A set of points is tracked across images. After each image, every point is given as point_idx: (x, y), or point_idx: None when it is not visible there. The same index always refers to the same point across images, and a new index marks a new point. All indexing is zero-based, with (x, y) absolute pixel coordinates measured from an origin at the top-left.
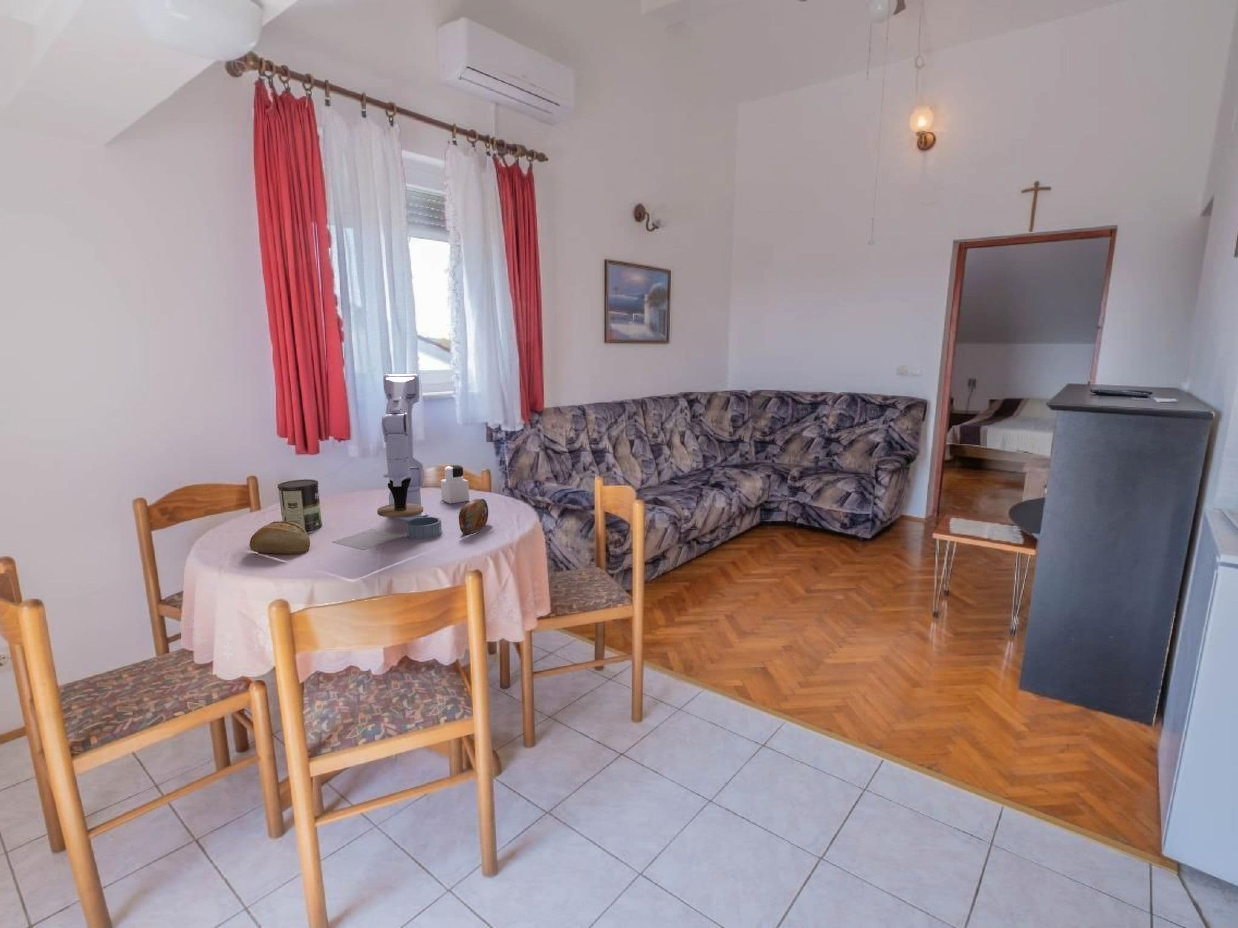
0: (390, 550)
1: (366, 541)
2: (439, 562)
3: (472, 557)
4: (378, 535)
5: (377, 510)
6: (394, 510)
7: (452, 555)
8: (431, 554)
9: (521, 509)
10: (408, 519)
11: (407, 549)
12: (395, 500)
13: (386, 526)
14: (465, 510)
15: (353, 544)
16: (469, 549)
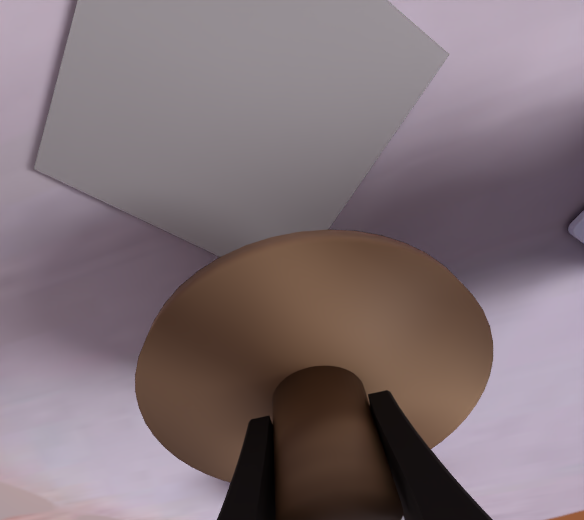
0: (99, 287)
1: (185, 123)
2: (25, 462)
3: (99, 511)
4: (303, 157)
5: (247, 261)
6: (268, 379)
7: (102, 473)
8: (94, 426)
9: (559, 512)
10: (581, 227)
11: (129, 345)
12: (229, 501)
13: (516, 126)
14: None
15: (110, 53)
16: (168, 493)
